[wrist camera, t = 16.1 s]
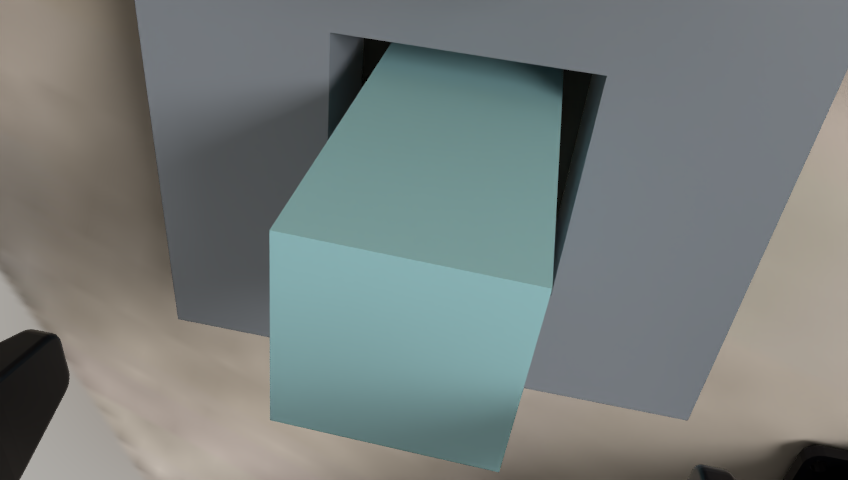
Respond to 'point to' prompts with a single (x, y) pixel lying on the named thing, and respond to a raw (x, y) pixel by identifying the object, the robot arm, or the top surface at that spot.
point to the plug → (420, 258)
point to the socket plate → (588, 173)
